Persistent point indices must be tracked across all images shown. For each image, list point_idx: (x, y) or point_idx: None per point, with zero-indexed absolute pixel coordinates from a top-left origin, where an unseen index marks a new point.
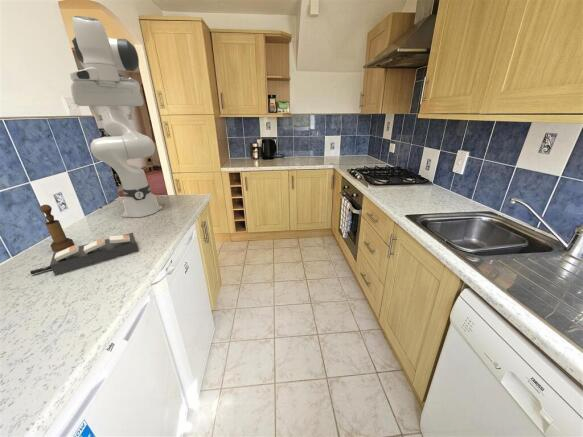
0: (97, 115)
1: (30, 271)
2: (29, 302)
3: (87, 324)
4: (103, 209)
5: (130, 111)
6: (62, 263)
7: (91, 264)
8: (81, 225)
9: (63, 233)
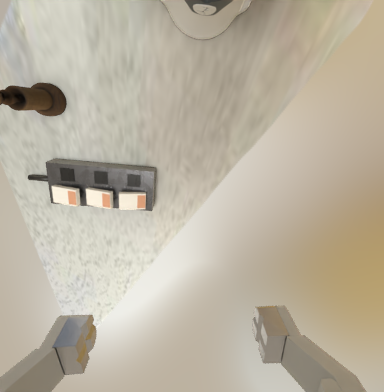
0: (57, 370)
1: (28, 178)
2: (48, 236)
3: (101, 295)
4: None
5: (310, 364)
6: None
7: None
8: None
9: (44, 104)
